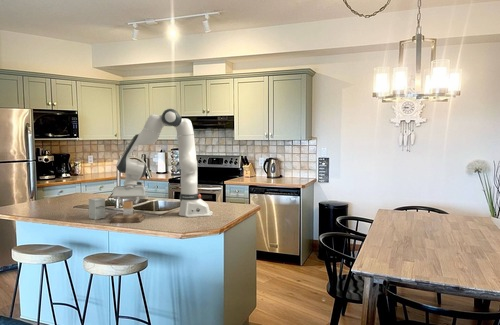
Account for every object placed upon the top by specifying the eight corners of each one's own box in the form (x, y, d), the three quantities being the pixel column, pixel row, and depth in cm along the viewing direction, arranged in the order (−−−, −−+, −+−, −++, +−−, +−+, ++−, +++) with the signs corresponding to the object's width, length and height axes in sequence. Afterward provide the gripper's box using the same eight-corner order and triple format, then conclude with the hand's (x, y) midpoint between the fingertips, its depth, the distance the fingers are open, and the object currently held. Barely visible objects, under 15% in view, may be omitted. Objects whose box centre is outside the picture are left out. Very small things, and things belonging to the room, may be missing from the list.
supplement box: (95, 220, 234) (94, 200, 233) (88, 218, 238) (88, 198, 237) (105, 217, 239) (105, 198, 238) (99, 216, 244) (98, 197, 243)
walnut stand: (145, 216, 242) (145, 212, 242) (140, 222, 226) (140, 217, 226) (117, 217, 241) (116, 212, 241) (109, 223, 225) (109, 218, 225)
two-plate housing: (133, 214, 236) (132, 200, 235) (131, 215, 232) (131, 201, 231) (125, 214, 235) (124, 200, 234) (123, 215, 231) (123, 201, 230)
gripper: (113, 183, 238) (109, 201, 229) (146, 182, 240) (143, 200, 231) (115, 189, 243) (111, 206, 234) (147, 188, 244) (145, 206, 235)
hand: (127, 203), depth 232 cm, fingers open, 8 cm apart
